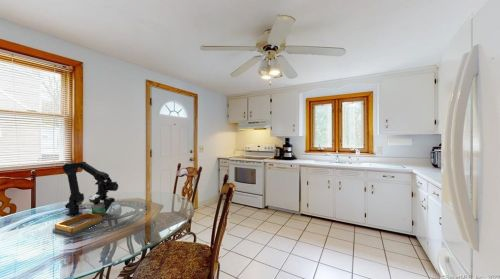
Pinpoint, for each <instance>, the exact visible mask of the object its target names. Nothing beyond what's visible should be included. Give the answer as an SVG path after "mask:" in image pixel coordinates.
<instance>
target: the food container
mask: <svg viewBox="0 0 500 279" xmlns="http://www.w3.org/2000/svg"><path fill="white" fill-rule="evenodd" d="M90 208H91V213H92V214H97V215H101V216H103V217H104V216H106V215H107V211H105V205H104V201H100V203H98V204H96V205H94V204H91V205H90ZM105 214H106V215H105Z"/></svg>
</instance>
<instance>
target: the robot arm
mask: <svg viewBox="0 0 500 279" xmlns="http://www.w3.org/2000/svg"><path fill="white" fill-rule="evenodd" d="M79 169H81V170H83V171H85V172H86V173H88V174H89V175H91V176H92V177H93V179H94V180H95V181H96V182H95V183H94V185H97V191H96V192H95V194H93V195H90V196H89V197H88V201H89V203H93V205H96V204H98V203H100V202H104V205H105V211H106V212H108V210H109V209H110V207H111V205H112V204H113V203H114V202H116V199H115V198H114V197H109V196H108V193H109V191H110V192H111V191H112V192H116V191H118V190H119V184H118V182H117V181H113V180H112V179H111V177H110V175H109V173H107V172H104V171H100V170H99V169H96V168H95V167H93V166H92V165H90V164H88V163H87V161H78V162H69V163H64V164H63V165H62V170H63V173H64V174H65V175H66V176H67V181H68V186H69V190H70V191H69V193H70V195H69V198H68V202H67V203H66V204H64V207H65V209H68V210H67V213H65V215H66V216H68V217H75V216H78V215H81V214H82V212H81V211H80V205H82V203H83V202H84V201H85V194H84V193H81V192H80V187H79V183H78V177H77V172H78V170H79Z"/></svg>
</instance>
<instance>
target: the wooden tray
mask: <svg viewBox="0 0 500 279" xmlns="http://www.w3.org/2000/svg"><path fill="white" fill-rule="evenodd" d="M103 217H104V216H101V215H97V214H92V212H85V213H81V214H78V215H75V216H72V217H70V218H68V219H65V220H63V221H60V222H57V223H55V224H54V228H52V233H55V234H59V235H62V236H66V237H69V238H72V237H75V236H77V235H79V234H81V233H84V232H86V231H88V230H90V229H89V228H91V227H93V226H95V225H97V226H99V225H98V224H100V223H102V222H104V223H105V219H104V218H103ZM102 224H103V223H102ZM100 225H101V224H100ZM95 227H96V226H95ZM93 228H94V227H93ZM87 229H88V230H87ZM91 229H92V228H91ZM85 230H86V231H85ZM83 231H84V232H83ZM78 233H79V234H78ZM76 234H77V235H76ZM74 235H75V236H74Z"/></svg>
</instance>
